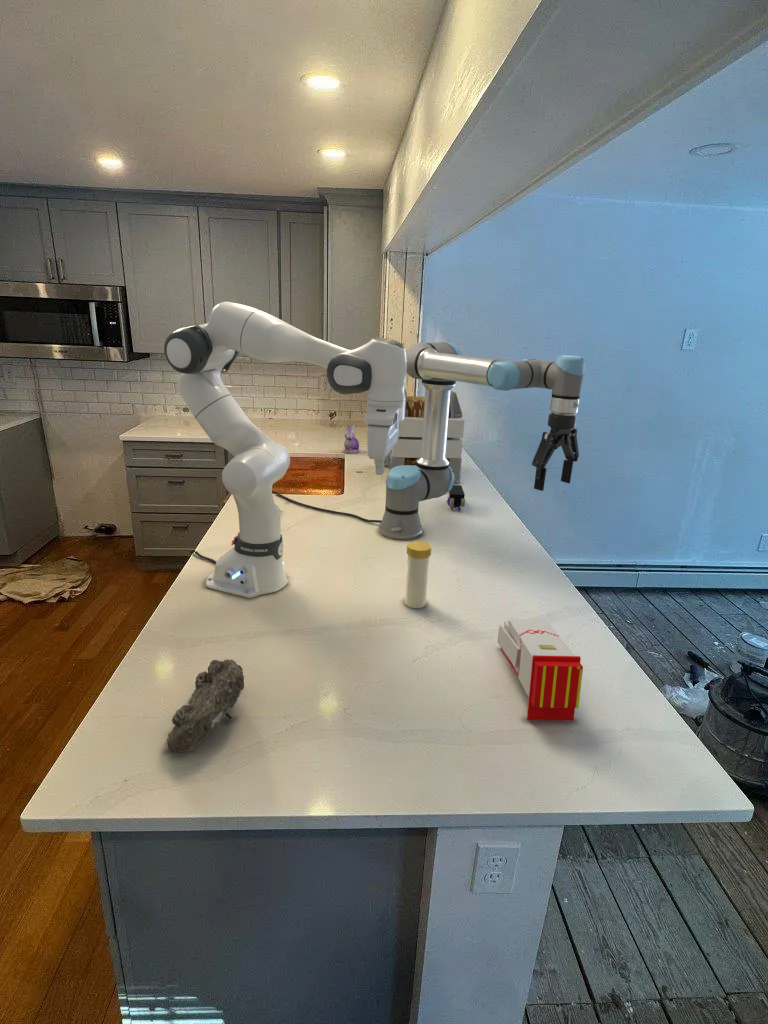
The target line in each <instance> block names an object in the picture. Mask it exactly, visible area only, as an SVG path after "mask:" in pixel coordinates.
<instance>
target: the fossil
mask: <svg viewBox="0 0 768 1024" xmlns="http://www.w3.org/2000/svg"><path fill="white" fill-rule="evenodd" d="M243 670H244V669H243V667H242V665H240V664H237V662H236V661H235V660H234V659H232V658H231V659H227V658H226V659H224V660H223V661H222V660H217V659H212V660H211V661H210V663H209V665H208V666H207V671H201V672H199V673H198V674H197V675H196V676H195V680H194V684H195V685H194V687H195V689H194V690H193V693H192V694H191V697H190V698H189V700H188V704H184V705H182V706H181V707H180V709H177V710H176V711H175V713H174V715H173V716H172V718H171V723H172V724H173V727H172V730H171V731H170V732H168V734H167V738H166V741H167V742H166V745H167V749H168V750H169V751H173V752H174V753H176V754H178V753H182V752H188V751H189V752H192V751H193V750H195V748H196V747H197V746H199V744H200V743H201V742H203V741H204V740H205V739H206V738H207V737H208V736H209V735H210V734H211V733H212V732H214V730H215V729H217V727H218V726H219V724H220V722H221V721H222V720H223V719H224V718H225V716H226V717H227V719H229V720H233V717H232V715H230V714H229V710H230V709H231V708H234V706H235V704H236V703H237V702H238V699H239V697H240V695H241V693H242V691H243V690H245V689H244V688H245V675H244V671H243Z"/></svg>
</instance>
